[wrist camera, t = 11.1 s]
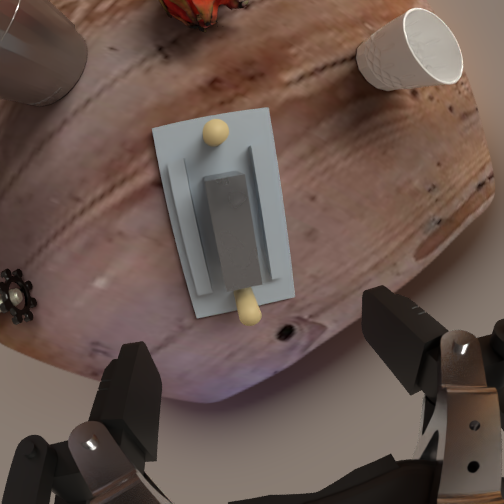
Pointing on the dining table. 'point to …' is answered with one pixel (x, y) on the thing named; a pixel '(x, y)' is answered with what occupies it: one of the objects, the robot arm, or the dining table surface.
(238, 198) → the gray rectangular block
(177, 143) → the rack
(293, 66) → the dining table surface
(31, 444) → the robot arm
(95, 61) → the dining table surface
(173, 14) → the dragon fruit
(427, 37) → the white cup
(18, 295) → the valve
